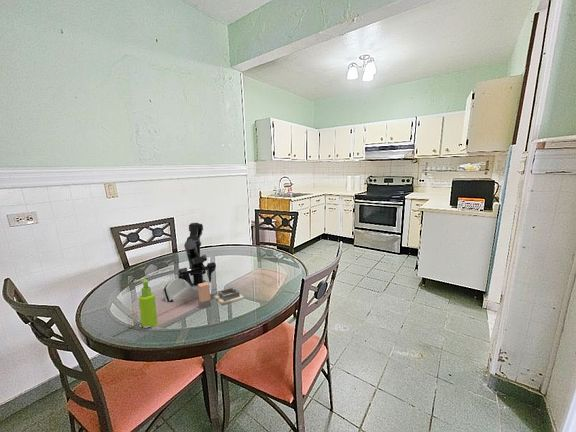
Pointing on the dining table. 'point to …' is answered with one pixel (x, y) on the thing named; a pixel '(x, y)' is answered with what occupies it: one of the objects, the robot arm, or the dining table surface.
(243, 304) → the dining table surface
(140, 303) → the soap dispenser
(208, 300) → the brown rectangular block
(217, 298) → the square socket base
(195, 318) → the dining table surface
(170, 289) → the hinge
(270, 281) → the dining table surface
